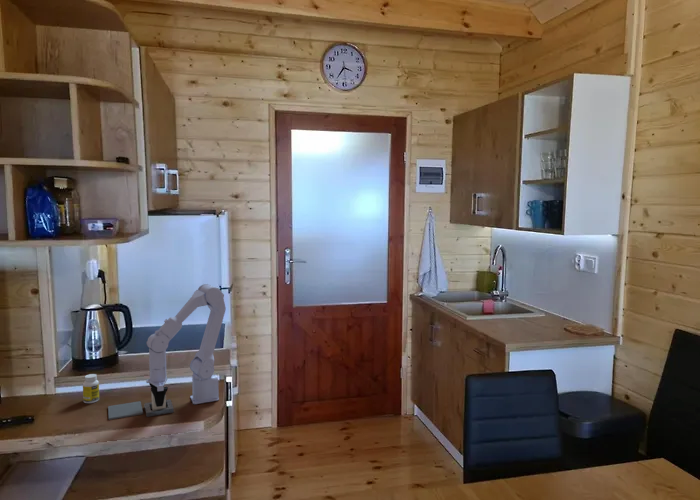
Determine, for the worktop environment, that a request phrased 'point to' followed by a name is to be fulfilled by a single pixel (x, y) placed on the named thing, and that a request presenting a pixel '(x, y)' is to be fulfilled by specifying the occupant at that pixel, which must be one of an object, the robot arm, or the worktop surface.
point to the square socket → (159, 411)
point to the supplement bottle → (90, 389)
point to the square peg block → (155, 403)
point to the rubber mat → (125, 410)
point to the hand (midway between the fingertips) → (158, 403)
